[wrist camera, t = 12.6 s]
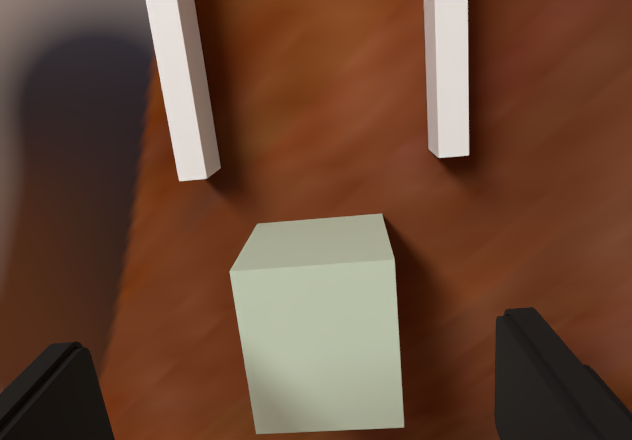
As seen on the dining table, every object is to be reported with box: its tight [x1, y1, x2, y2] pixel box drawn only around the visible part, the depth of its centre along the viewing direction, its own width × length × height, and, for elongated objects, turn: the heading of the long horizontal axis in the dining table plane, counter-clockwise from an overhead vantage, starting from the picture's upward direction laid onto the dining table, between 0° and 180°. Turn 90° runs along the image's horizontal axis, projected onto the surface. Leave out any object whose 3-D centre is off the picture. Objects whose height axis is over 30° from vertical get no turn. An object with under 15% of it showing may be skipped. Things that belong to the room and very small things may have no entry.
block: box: [230, 214, 404, 434], centre depth 18 cm, size 6×5×5 cm
